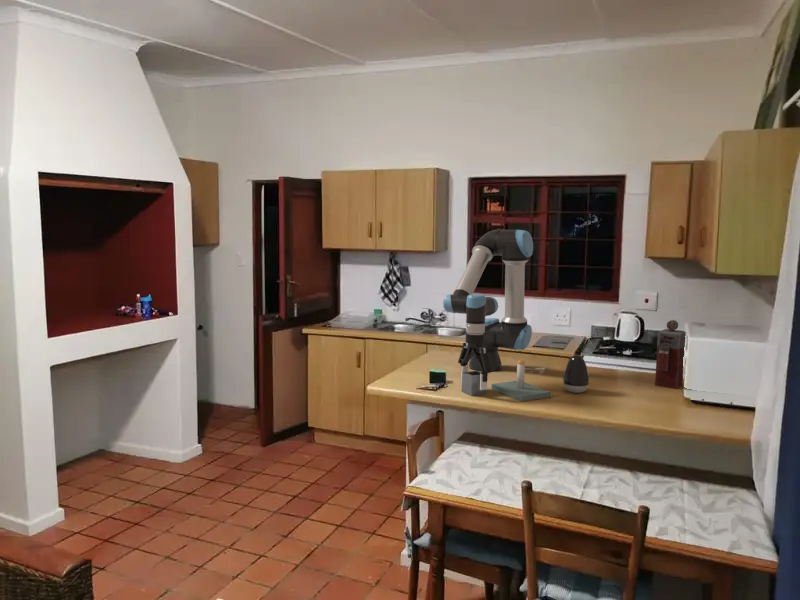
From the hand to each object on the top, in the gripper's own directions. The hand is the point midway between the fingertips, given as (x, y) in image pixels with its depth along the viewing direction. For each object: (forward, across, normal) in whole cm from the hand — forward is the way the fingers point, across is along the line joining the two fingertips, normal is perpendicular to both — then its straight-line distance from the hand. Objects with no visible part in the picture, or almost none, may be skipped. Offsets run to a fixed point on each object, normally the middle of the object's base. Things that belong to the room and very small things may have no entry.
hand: (473, 385), depth 259 cm
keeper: (+3, +8, +17) cm, 19 cm away
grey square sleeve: (+3, 0, 0) cm, 3 cm away
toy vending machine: (+2, +26, +81) cm, 85 cm away
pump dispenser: (+3, +16, +39) cm, 42 cm away
